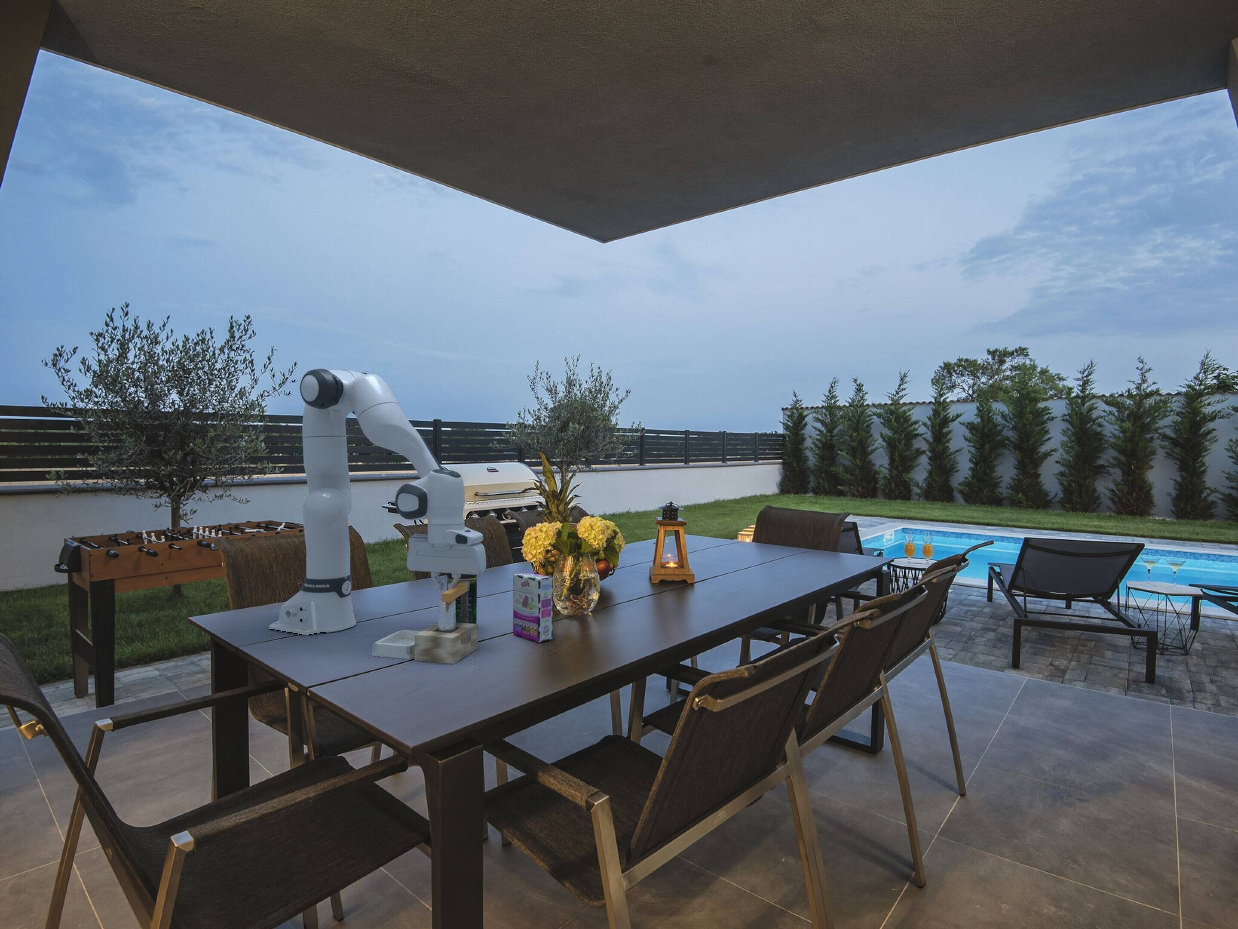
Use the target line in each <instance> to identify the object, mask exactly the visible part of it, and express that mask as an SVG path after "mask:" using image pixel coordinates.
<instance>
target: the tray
mask: <svg viewBox="0 0 1238 929" xmlns="http://www.w3.org/2000/svg"><path fill="white" fill-rule="evenodd" d="M421 631H422V630H412V629H411V630H410V629H400V630H398V631H396V632H393V633H391V634H389V635H387V636H385V637H382V638H381V639H379V640H376V641H374V642H373V643H371V646H372V647H371V649H372V650H371V653H372V654H371V655H372V657H378V656H379V657H380V658H392V659H402V660H411V659H413V658H415V634H417V633H419V632H421ZM379 657H378V658H379Z"/></svg>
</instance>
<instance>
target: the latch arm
mask: <svg viewBox="0 0 1238 929" xmlns="http://www.w3.org/2000/svg"><path fill="white" fill-rule="evenodd" d="M469 590H470V582H460V583H459V584H457V585H456V586H454V587H452V588H450V589H449V590H447V589H446V591H443V592H442V593H441V599H442V602H451V601H453V600H454V599H456V598H457V597H459V596H461V595H462V594H464V593H465V592H467V591H469Z"/></svg>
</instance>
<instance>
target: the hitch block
mask: <svg viewBox="0 0 1238 929" xmlns="http://www.w3.org/2000/svg"><path fill="white" fill-rule="evenodd" d="M420 631H421V632H419V633H417V634H415V657H414V661H417V662H426V663H438V664H439V663H440V664H452V665H454V664H455V663H458V662H459V661H461V660H462V659H463V658H465V657H466V656H468V655H469V654H471V653H472V652H474V651H475V650H477V649H478V624H470V623H468V591H467V592H465V593H464V594H462V595H461V623H456V631H454V632H452V633H445V632H438V622H437V623H435V624H433V625H430V626H429V627H427V628H425V629H423V630H420Z"/></svg>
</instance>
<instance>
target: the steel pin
mask: <svg viewBox="0 0 1238 929" xmlns="http://www.w3.org/2000/svg"><path fill="white" fill-rule="evenodd" d="M437 602H438V605H437V609H438V611H437V612H438V613H437V615H438V616H437V619H438V620H437V621H438V622H437V623H438V632H445V633H452V632H454V631H456V600H455V599H454V600H453V601H451V602H442V598H439V599H438V601H437Z"/></svg>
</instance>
